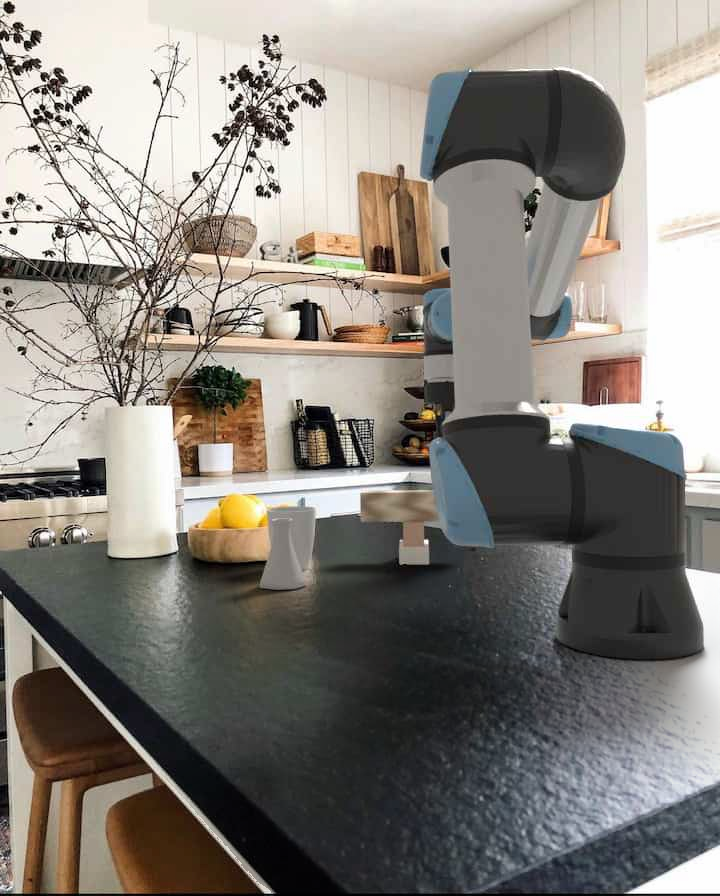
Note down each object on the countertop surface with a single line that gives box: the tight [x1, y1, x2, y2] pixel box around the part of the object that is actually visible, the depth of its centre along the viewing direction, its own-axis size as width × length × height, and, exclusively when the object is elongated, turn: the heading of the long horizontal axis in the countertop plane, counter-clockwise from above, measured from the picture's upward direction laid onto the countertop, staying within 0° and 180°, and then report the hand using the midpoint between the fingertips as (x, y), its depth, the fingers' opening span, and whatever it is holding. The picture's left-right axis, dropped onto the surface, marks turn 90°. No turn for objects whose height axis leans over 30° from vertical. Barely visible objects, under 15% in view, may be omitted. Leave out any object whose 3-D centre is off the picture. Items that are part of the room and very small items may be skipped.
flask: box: [259, 518, 307, 591], centre depth 122 cm, size 7×7×10 cm
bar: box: [359, 489, 440, 523], centre depth 142 cm, size 18×4×5 cm, turn 86°
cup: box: [266, 506, 317, 572], centre depth 136 cm, size 8×8×10 cm
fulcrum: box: [398, 521, 430, 566], centre depth 142 cm, size 8×5×7 cm, turn 176°
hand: (448, 516), depth 141 cm, fingers closed on bar, 4 cm apart
